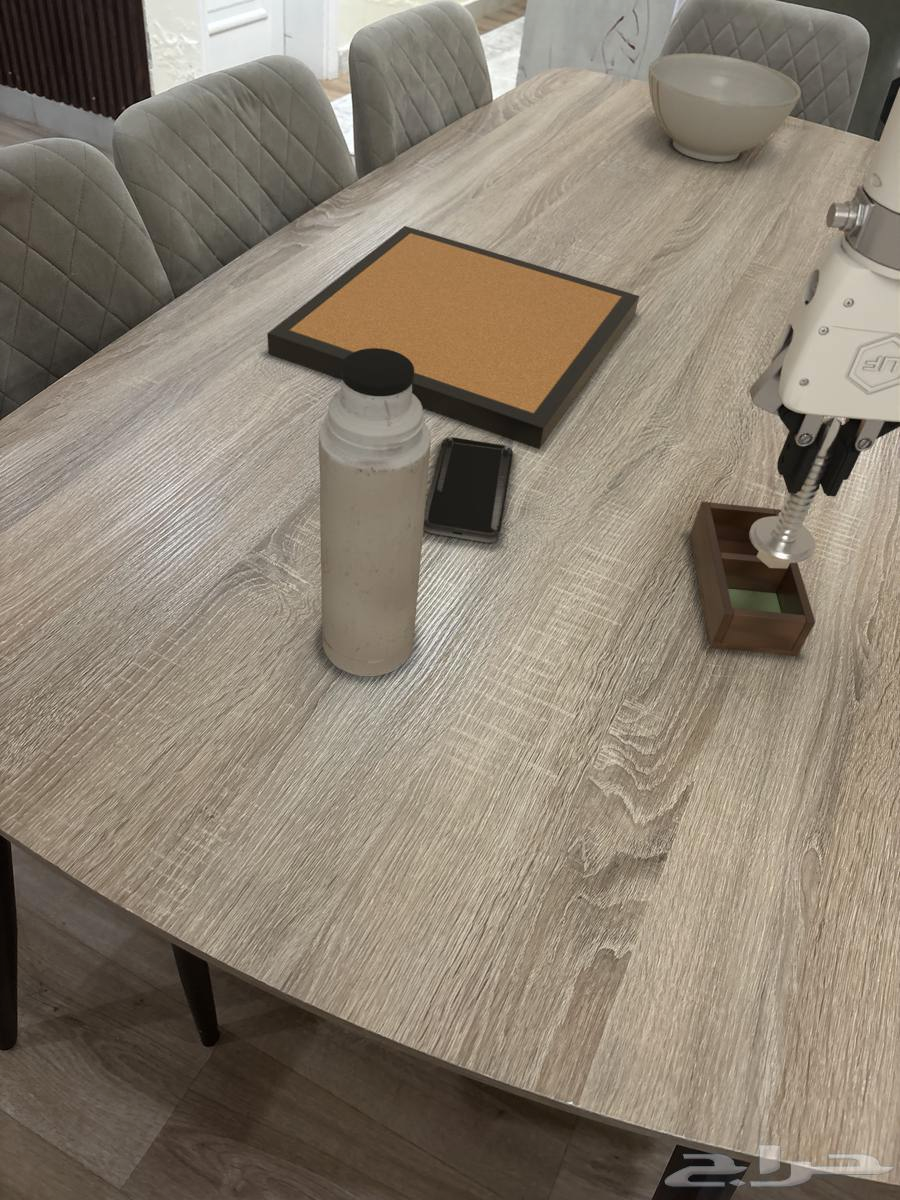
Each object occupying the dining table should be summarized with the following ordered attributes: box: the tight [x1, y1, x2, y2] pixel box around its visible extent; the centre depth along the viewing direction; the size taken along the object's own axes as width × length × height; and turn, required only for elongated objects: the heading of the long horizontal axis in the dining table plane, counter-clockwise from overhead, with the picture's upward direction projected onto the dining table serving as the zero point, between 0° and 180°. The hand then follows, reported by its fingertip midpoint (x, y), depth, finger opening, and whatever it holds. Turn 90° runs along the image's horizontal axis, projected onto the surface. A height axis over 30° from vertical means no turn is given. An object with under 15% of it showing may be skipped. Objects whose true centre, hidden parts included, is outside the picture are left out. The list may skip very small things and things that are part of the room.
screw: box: [749, 417, 843, 568], centre depth 68 cm, size 13×5×5 cm
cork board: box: [266, 225, 640, 450], centre depth 120 cm, size 36×3×35 cm
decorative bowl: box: [648, 52, 802, 163], centre depth 170 cm, size 27×27×12 cm
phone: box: [423, 436, 514, 544], centre depth 98 cm, size 8×1×15 cm
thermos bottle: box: [318, 348, 432, 677], centre depth 73 cm, size 8×8×28 cm
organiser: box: [689, 501, 816, 657], centre depth 90 cm, size 8×15×5 cm, turn 177°
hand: (807, 481), depth 67 cm, fingers closed on screw, 2 cm apart
